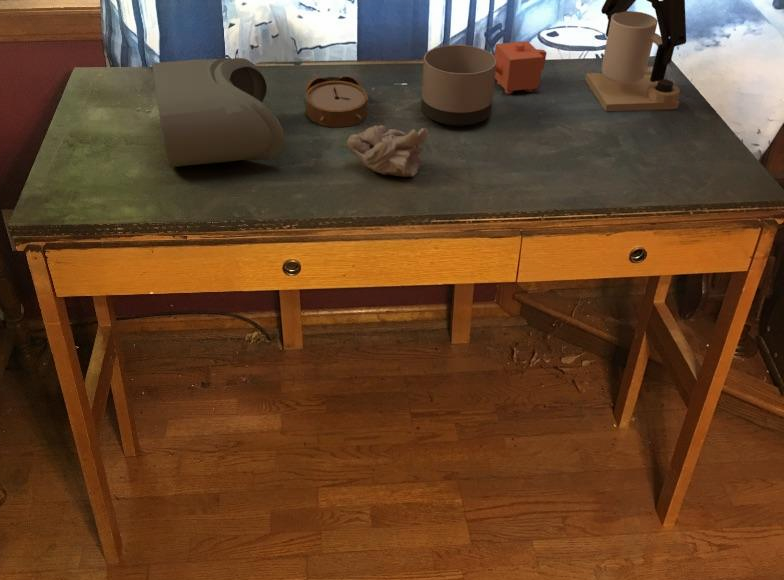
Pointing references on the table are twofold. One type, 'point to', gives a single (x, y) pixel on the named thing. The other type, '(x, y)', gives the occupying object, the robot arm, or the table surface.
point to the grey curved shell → (215, 112)
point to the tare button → (664, 85)
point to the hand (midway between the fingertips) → (632, 68)
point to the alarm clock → (336, 101)
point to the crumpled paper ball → (388, 150)
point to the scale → (631, 94)
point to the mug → (629, 46)
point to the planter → (458, 84)
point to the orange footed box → (519, 66)
